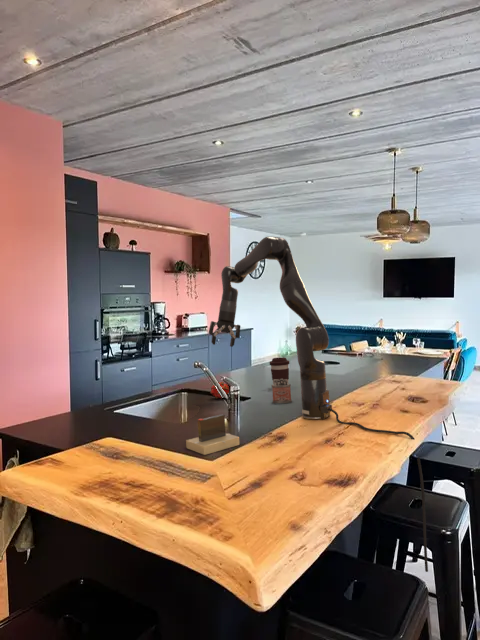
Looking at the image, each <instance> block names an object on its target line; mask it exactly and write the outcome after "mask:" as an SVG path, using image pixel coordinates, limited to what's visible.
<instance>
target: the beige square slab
mask: <svg viewBox="0 0 480 640" xmlns="http://www.w3.org/2000/svg"><path fill="white" fill-rule="evenodd" d="M185 442H186V443H185V445H186V446H185V447H186V449H188V450H189V451H193V452H196V453H198V454H200V455H203V456H207V455H209V454H213V453H217V452H219V451H223V450H227V449H231V448H234V447H237V446H240V437H239V436H238V435H235V434H231V433H230V432H229V433H227V432H226V436H223V437H219V438H215V439H212V440H208V441H204V442H200V441H199V436H198V437H197V436H196V437H193V438H189V439H185Z"/></svg>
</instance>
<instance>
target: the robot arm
mask: <svg viewBox="0 0 480 640" xmlns="http://www.w3.org/2000/svg"><path fill="white" fill-rule="evenodd" d="M264 260H270V261H277V262H278V264H279V266H280V269H281V275H280V276H281V277H280V280H279V290H280V291H279V292H280V293H281V296H282V298H283V301H284V303H285V304H286V306H287V307H288V308H289V309H290V310H292V312H294V313H295V315H297V316H298V317H299V318H300V319H301V320H302V321H303V323H304V324H305V326H303V327H300V328H298V330H297V331H296V334H295V347H296V356H297V357H296V358H297V362H298V367H299V373H300V375H299V376H300V392H301V393H300V394H301V407H302V408H301V413H302V418H303V419H306V420H325V419H327V418H328V417H330V416H331V412H332V413H333V414H334V415H335V420H336V422H337V423H339V424H342V425H349V426H351V425H353V426H357V427H359V428H361V429H363V430H365V431H368V432H373V433H384V434H393V435H407V436H408V437H409V438H410V439H411V440H415V437H414V436H413V435H412V434H411V433H410V432H408V431H395V430H385V429H376V428H375V429H374V428H369V427H366V426H363V425H362V424H360V423H358V422H354V421H346V422H345V421H341V420H340V418H339V413H338V412H337V411H335V410H334V409H333V404H331V403H330V391H329V389H327V374H326V363H325V361H322V360H319V359H317V358H316V357H315V354H314V352H321V351H325V350H326V349H327V348H328V346H329V344H330V338H329V334H328V331H327V329H326V327H325V326H324V323H323V321H321V319H320V317H319V314H318V313H317V311H316V309H315V307H314V305H313V303H312V301H311V298H310V297H309V294H308V291H307V289H306V287H305V284H304V282H303V280H302V278H301V276H300V273H299V271H298V268H297V266H296V263H295V260H294V257H293V253H292V251H291V247H290V245H289V242H288V241H287V239H286V238H284V237H281V236H280V237H279V236H265V237H263V238H262V239H261V240H260V241H259V242H258V243H257V244H256V245H255V246H254V247H253V249H252V250H251V251H250V252H249V253H248V254H246V256H244V257H243V258H242V259H240V260H238V261H237V262H236V263H235V265H234V266H230V265H226V266H224V267H223V268H222V270H221V274H220V275H221V276H220V277H221V284H222V285H221V286H222V294H221V300H220V305H219V311H218V318H217V322H216V321H213V320H211V321H210V325H209V329H208V334H209V335H211V344H212V345H213V346H215V345H216V342H217V336H218V334H220V333H226V334H229V335H230V337H231V338H230V343H229V347H231V348H233V347H234V346H235V342H236V339H239V338H240V337H241V325H240V324H235V319H236V315H237V314H236V313H237V305H238V304H237V303H238V296H239V290H238V289H237V288H235V287H233V286H232V284H241V283H243V282H244V281H245V279H246V278H247V276H248V275H250V274H251V273H252V272H254V271H256V269H257V267H258V266H259V263H260V262H261V261H264ZM215 327H217V328H216V329H215ZM214 329H215V330H214ZM233 329H235V332H234V330H233ZM416 461H417V466H418V473H419V480H420V481H419V482H420V491H421V492H420V493H421V506H422V508H421V509H422V531H423V532H422V533H423V534H422V535H423V556H424V557H423V558H424V559H423V560H424V570H425V573H429V563H428V547H427V546H428V545H427V517H426V515H427V513H426V497H425V495H426V494H425V484H424V476H423V470H422V469H423V468H422V463H421V458H420V457H418V458H417V459H416Z"/></svg>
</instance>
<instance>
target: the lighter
mask: <svg viewBox="0 0 480 640" xmlns="http://www.w3.org/2000/svg"><path fill="white" fill-rule="evenodd" d="M279 382H280V383H279ZM284 382H285V383H286V384H285V383H284ZM287 382H288V384H287ZM273 383H276V385H273ZM278 383H279V384H278ZM291 386H292V385H291V383H289V380H288V381H287V379H285V380H283V379H280V380H279V379H275V380H272V384H271V389H272V390H271V391H272V403H273V404H287V403H289V404H290V403H292V395H291V394H292V392H291V391H292V390H291Z"/></svg>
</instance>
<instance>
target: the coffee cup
mask: <svg viewBox="0 0 480 640" xmlns="http://www.w3.org/2000/svg"><path fill="white" fill-rule="evenodd" d="M290 364H291V362H290V360H289V359H287V357H283V356H280V357H279V356H278V357H273V358H272V359H271V360H270V361H269V366H270V372H271V373H270V374H271V380H272V381H273V380H275V379H279V380H280V379H283V380H285V379H287V381H288V382H287V384H289V379H290V368H289V365H290ZM279 383H280V382H279ZM279 383H278V384H279ZM284 383H285V382H284ZM285 384H286V383H285ZM272 385H276V383H273V382H272Z"/></svg>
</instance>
